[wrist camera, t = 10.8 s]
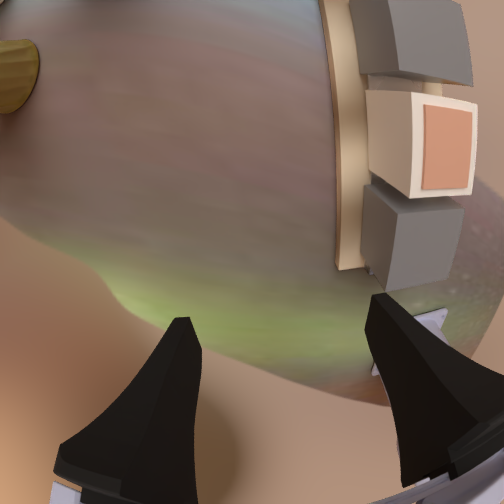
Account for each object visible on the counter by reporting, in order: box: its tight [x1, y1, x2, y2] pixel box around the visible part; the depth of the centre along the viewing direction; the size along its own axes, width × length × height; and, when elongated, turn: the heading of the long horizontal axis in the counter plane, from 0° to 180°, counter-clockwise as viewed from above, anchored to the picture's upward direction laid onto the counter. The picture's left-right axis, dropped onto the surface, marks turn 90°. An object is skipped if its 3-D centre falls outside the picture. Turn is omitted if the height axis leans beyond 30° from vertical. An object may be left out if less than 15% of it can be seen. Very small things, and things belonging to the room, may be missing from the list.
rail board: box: [318, 0, 473, 292], centre depth 13 cm, size 20×8×6 cm, turn 7°
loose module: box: [365, 90, 477, 199], centre depth 12 cm, size 5×4×5 cm
